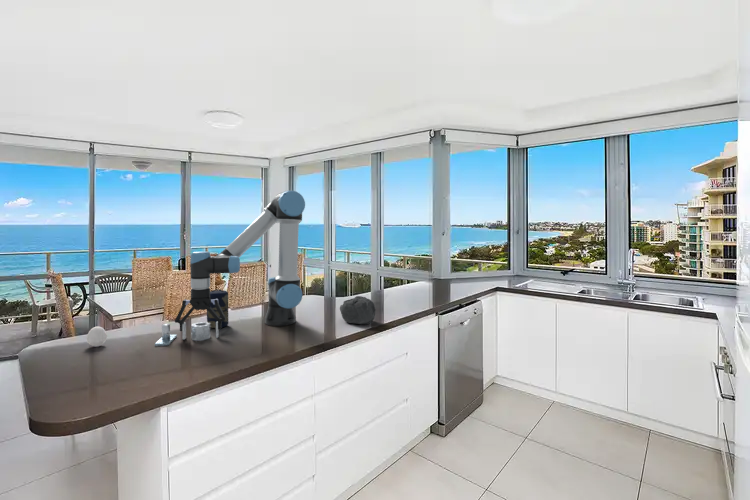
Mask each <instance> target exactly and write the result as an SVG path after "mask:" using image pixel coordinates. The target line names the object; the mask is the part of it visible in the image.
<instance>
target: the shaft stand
mask: <svg viewBox="0 0 750 500" xmlns="http://www.w3.org/2000/svg"><path fill="white" fill-rule="evenodd" d="M177 335H178V334H171V324H170V323H163V324H161V337H160V338H159V339H158V340H157V341H156V342H155V343H154V347H165V346H166V347H167V346H170V345H171V344H172V343H173V341H174V340H175V339H176V338H177V337H178V336H177Z"/></svg>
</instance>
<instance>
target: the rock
mask: <svg viewBox="0 0 750 500" xmlns="http://www.w3.org/2000/svg"><path fill="white" fill-rule="evenodd" d="M342 303H343V304H341V305H340V307H339V310H340V311H339V312H340V315H341V317H342V319H343V320H344V321H345V322H347V323H348V324H355V325H356V324H357V325H368V324H370V323H372V322H373V321H374V320H375V317H376V314H377V313H376V306H375V302H373V301H372V300H371V299H370V298H367V297H366V296H359V295H356V296H354V297H353V298H350V299H346V300H344V301H343V302H342Z"/></svg>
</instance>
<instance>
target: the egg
mask: <svg viewBox="0 0 750 500" xmlns="http://www.w3.org/2000/svg"><path fill="white" fill-rule="evenodd" d="M107 339H108V334H107V332H106V329H104V327H101V326H94V327H92V328H91V329H90V330H89V331H88V333H87V335H86V342H87V344H89V345H90V346H92V347H94V348H95V347H96V348H98V347H101V346H102V345H104V344H105V343H106V341H107Z"/></svg>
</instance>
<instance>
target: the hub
mask: <svg viewBox="0 0 750 500" xmlns="http://www.w3.org/2000/svg"><path fill="white" fill-rule="evenodd" d="M190 326H191V328H190V329H191V333H190V336H191V340H192V341H197V342H198V341H206V340H209V339H210V338H211V328H210V323H208V322H207V321H203V322H202V321H200V322H194V323H192V324H191V325H190Z"/></svg>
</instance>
